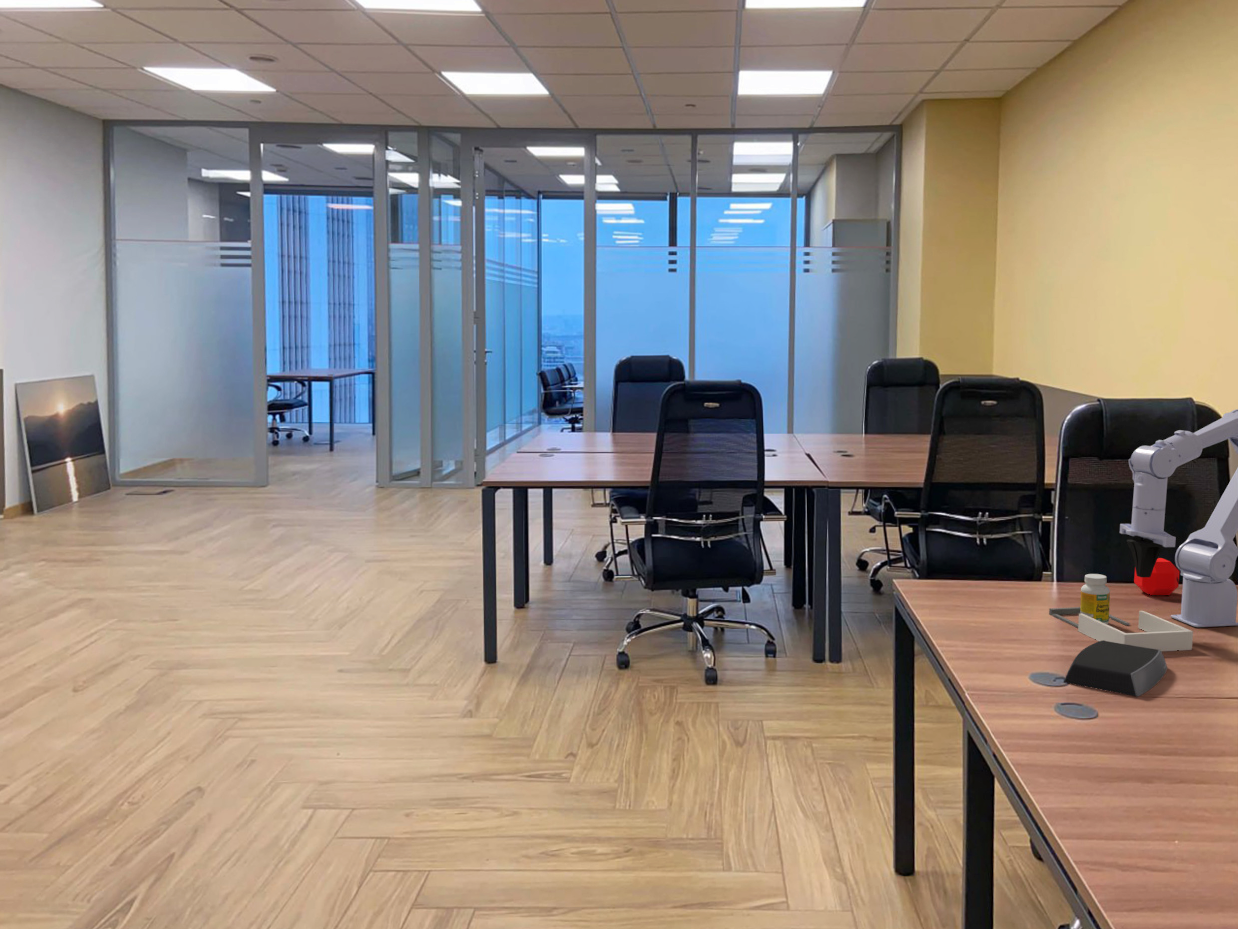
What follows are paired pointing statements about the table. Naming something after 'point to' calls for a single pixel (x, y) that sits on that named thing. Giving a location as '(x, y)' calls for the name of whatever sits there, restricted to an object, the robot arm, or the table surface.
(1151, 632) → the bay
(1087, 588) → the supplement bottle
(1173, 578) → the ball
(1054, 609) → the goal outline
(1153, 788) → the table surface
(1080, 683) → the external hard drive
